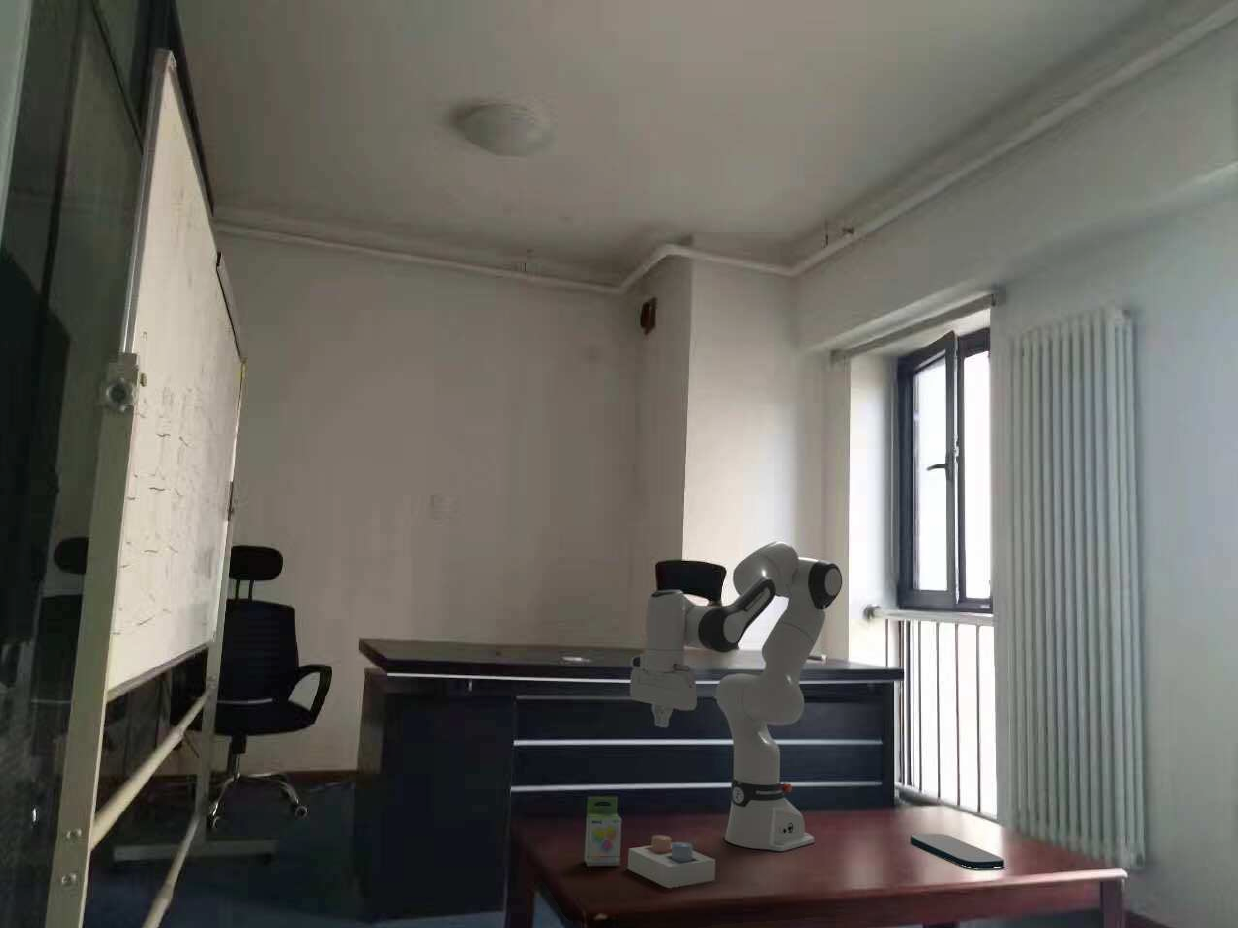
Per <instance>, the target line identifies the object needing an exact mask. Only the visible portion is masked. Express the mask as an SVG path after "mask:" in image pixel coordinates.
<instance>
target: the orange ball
mask: <svg viewBox="0 0 1238 928" xmlns="http://www.w3.org/2000/svg"><path fill="white" fill-rule="evenodd" d="M672 839H673V838H672V837H671V836H667V835H659V834H657V835H652V836H651V845H650V846H651V851H652V852H654V853H657V854H666V853H671V843H673V842H672Z"/></svg>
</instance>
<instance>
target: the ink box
mask: <svg viewBox="0 0 1238 928" xmlns="http://www.w3.org/2000/svg"><path fill="white" fill-rule="evenodd" d="M618 801H619V797H618V796H588V797H587V809H586V810H587V811H586V824H585V825H586V827H585V828H586V829H585V840H584V842H585V843H584V859H583V860H584V863H585V864H586V866H587V867H619V866H620V863H621V862H620V860H621V859H620V857H621V856H620V855H621V838H622V837H621V836H622V835H621V834H622V818H621V817H620V815H619V814H618V803H619V802H618ZM600 802H606V803H609V804H610V805H607V806H604V805H603V806H601V805H599V806H598V805H595V804H596V803H597V804H598V803H600Z"/></svg>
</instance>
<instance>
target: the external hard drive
mask: <svg viewBox="0 0 1238 928" xmlns="http://www.w3.org/2000/svg"><path fill="white" fill-rule="evenodd" d="M910 843H911V844H912V845H914V846H915V847H918V848H920V849H922V850H924V851H925V852H929V853H931V854H933V855H935V856H937V855H939V856H941V857H943V858H942V859H944V858H946V859H948V860H950V861H953V862H955V863H957V864H959V865H963V866H966V867H971V868H994V867H1002V866H1005V861H1004V858H1002V857H1001V856H998V855H997V854H994V853H991V852H989V851H988V850H987V851H986V850H984V849H982V848H979V847H978V846H974V845H972V844H970V843H967V842H965V841H963V840H960V839H958V838H956V837H953V836H950V835H948V834H942V833H941V834H940V833H920V834H918V833H917V834H911V836H910ZM939 856H938V857H939ZM941 857H940V858H941ZM946 859H945V860H946ZM948 860H947V861H948ZM950 861H949V862H950ZM957 864H956V865H957ZM959 865H958V866H959Z"/></svg>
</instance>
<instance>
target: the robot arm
mask: <svg viewBox="0 0 1238 928" xmlns="http://www.w3.org/2000/svg"><path fill="white" fill-rule="evenodd" d="M732 574H733V575H732V582H733V586H734V589H735V591H736V592H737V594H738V595H739V596H738V597H737V598H736V599H735V600H734V601H733V602H732V603H731V604H729V605H728V604H727V605H723V606H722V605H721V606H712V605H710V606H708V605H707V606H706V605H698V604H696V603H695V602H693V601H691V600H690V599H689V598H687V597H686V595H684V592H683V591H682V590H680V589H676V588H675V589H670V588H669V589H662V590H656V591H654V592H653V593H651V594H650V596H649V598H648V602H647V607H646V615H645V633H646V641H645V645H644V652H643V653H641V654H639V655H636V656H634V657H631V660H630V666H631V668H632V669H631V672H630V682H629V683H630V684H629V694H630V696H631V700H632V701H637V702H642V703H647V704H651V711H652V712H651V713H653V717H654V725H655V726H656V727H661V728H668V727H669V725H670V718H671V716H672V714H673V712H674V710H675V709H676V710H681V711H694V710H695V709H696V707H697V703H698V696H697V695H698V694H697V684H696V679H695V673H694V671H693V670H692V668H691V667H690V665H685V664H684V663H685V662H684V660H685V658H684V657H685V647H687V648H695V649H701V650H702V649H703V650H708V651H709V650H710V651H713V652H717V653H721V654H723V653H724V654H725V653H729V652H731V651H733V650H734V649H735V648H736V647H737V646H738V645H739V643H741V640H742V638H743V637H744V635H745V633H746V631H747V629H748V628H749V627H750V626H751V625H752V623H754V622H755V621H756V619H757V618H759V616H760V615H761V614H762V613H763V612H764V611H765V610H766V609H767V608H768V607H769V605H770V604H771V603H772V602H773V600H774V599H775V596H776V597H779V598H781V597H782V598H785V599H788V601H787V605H786V609H785V610H784V611H783V612H782V613H781V615H780V617H779V618H778V619H777V621H776V622H775V624H774V626H773V627H772V630H771V631H770V633H769V634H768V637H767V638H766V640H765V642H764V644H763V645H762V647H761V656H762V659H763V660H764V663H765V667H764V669H763V672H762V673H761V674H760V675H755V674H747V673H734V674H728V675H726V676H724V677H722V678H721V680H720V681H719V682H718V684H717V686H716V690H715V699H716V703H717V706H718V707H719V709H720V710H721V711H722V712H723V714H724V716H725V718H726V720H727V723H728V727H729V729H730V733H731V739H732V743H733V777H732V778H731V784H730V785H731V786H730V787H731V788H730V789H731V790H730V791H731V792H730V793H731V802H730V803H731V804H730V805H731V806H730V809H729V817H728V818H729V819H728V823H727V828H726V830H725V831H726V832H725V836H724V840H725V841H727V842H728V843H731V844H734V845H737V846H740V847H744V848H750V849H756V850H757V849H759V850H769V851H776V852H785V851H788V850H789V851H790V850H791V849H795V848H799V847H802V846H806V845H810V844H812V843H815V837H814V836H813V835H811V834H809V833H808V832H805V831H806V830H805V821H804V816H803V814H802V813H801V811H799V810H798V809H797V808H796V807H795V806H794V805H793V804H792V803H791V802H790V801H789V800H787V798H786V797H785V792H787V793H791V792H792V790H793V785H792V784H791V783H788V782H783V783H782V782H781V781H780V772H781V771H780V766H781V763H780V761H781V752H780V751H781V750H780V748H779V746H778V744H777V743H776V741H775V740H774V739H773V737H772V736H771V734H770V731H769V728H768V725H772V726H786V725H793V724H795V723H797V722H798V721H799V720H800V718H801V717H802V715H803V712H804V710H805V697H804V694H803V692H802V690H801V688H800V678H801V674H802V671H803V668H804V666H805V665H806V662H807V661H808V658H809V657H810V655H811V653H812V651H813V649H814V647H815V646H816V643H817V641H818V639H819V637H820V634H821V632H822V629H823V626H824V624H825V623H824V622H825V618H826V613H825V609H827V608H828V607H830V606H831V605H832V604H833V601H835V600H836V598H837V597H838V595H839V594H840V592H841V590H842V588H843V587H842V586H843V576H842V573H841V569H840V568H839V566H838V565H837V564H835V563H834V562H831V561H829V560H826V559H817V558H814V557H813V558H811V557H804V556H798V553H797V551H796V550H795V548H794V547H793V546H792V545H790V544H789V543H788V542H785V541H780V540H778V541H773V542H770V543H768V544H766V545H764V546H762V547H760V548H758V549H756V550H755V551H753V552H751V554H748V556H746V557H745V558H743V559H742V560H741V561H740V562H739V563H738V564H737V565H736V567H735V568H734V570H733V573H732Z"/></svg>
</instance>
